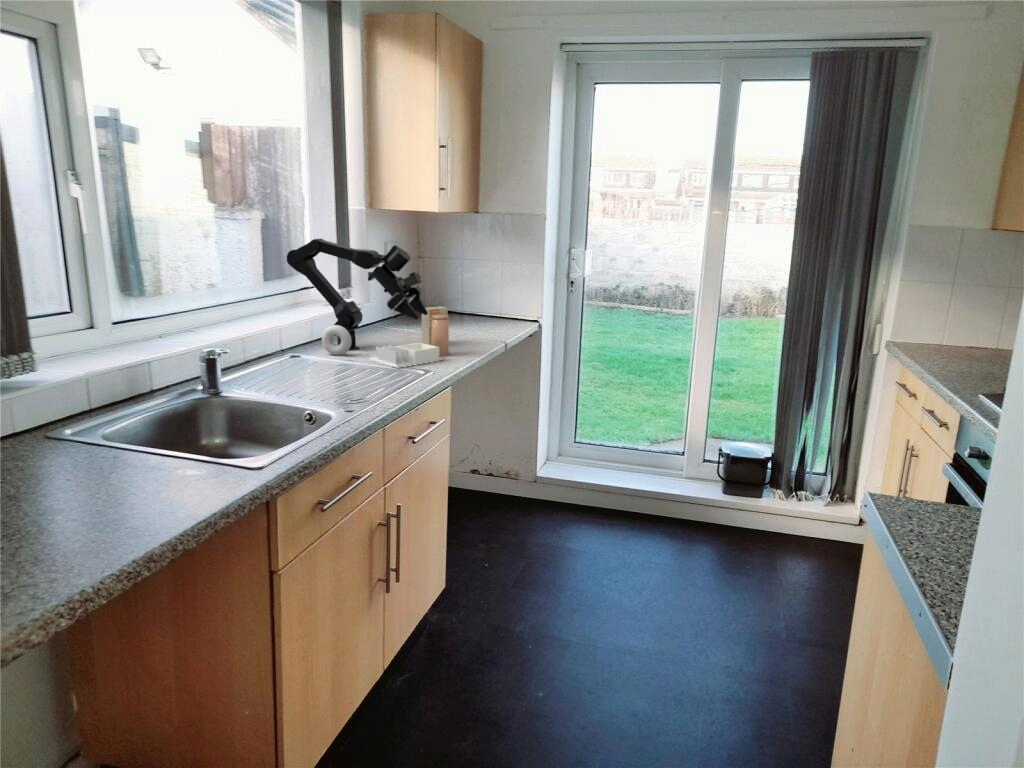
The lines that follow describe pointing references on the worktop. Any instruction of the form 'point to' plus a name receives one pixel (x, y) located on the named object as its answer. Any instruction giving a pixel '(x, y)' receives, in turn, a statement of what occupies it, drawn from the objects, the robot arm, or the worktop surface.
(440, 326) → the tumbler
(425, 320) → the supplement box
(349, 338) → the donut
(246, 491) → the worktop surface
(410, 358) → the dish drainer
